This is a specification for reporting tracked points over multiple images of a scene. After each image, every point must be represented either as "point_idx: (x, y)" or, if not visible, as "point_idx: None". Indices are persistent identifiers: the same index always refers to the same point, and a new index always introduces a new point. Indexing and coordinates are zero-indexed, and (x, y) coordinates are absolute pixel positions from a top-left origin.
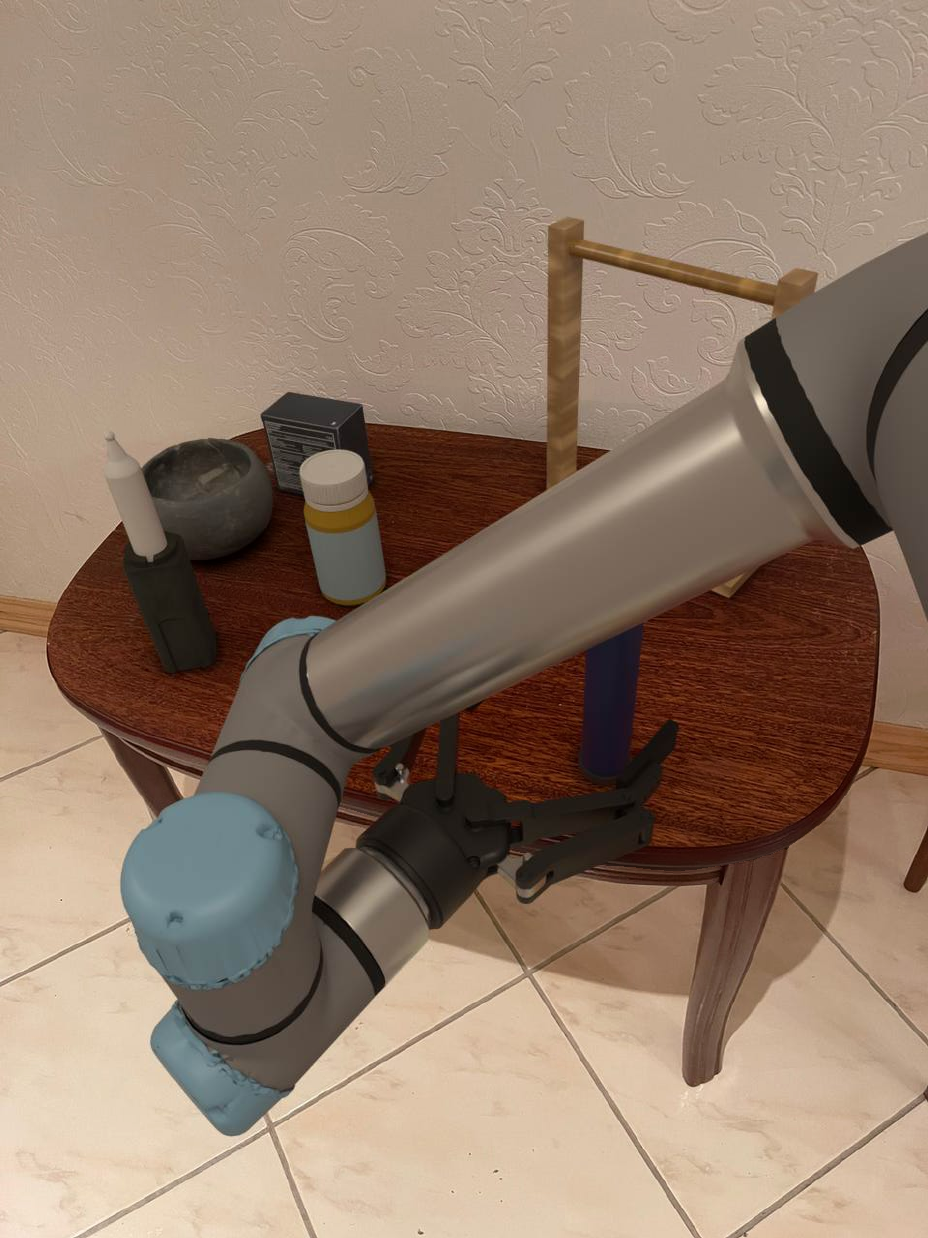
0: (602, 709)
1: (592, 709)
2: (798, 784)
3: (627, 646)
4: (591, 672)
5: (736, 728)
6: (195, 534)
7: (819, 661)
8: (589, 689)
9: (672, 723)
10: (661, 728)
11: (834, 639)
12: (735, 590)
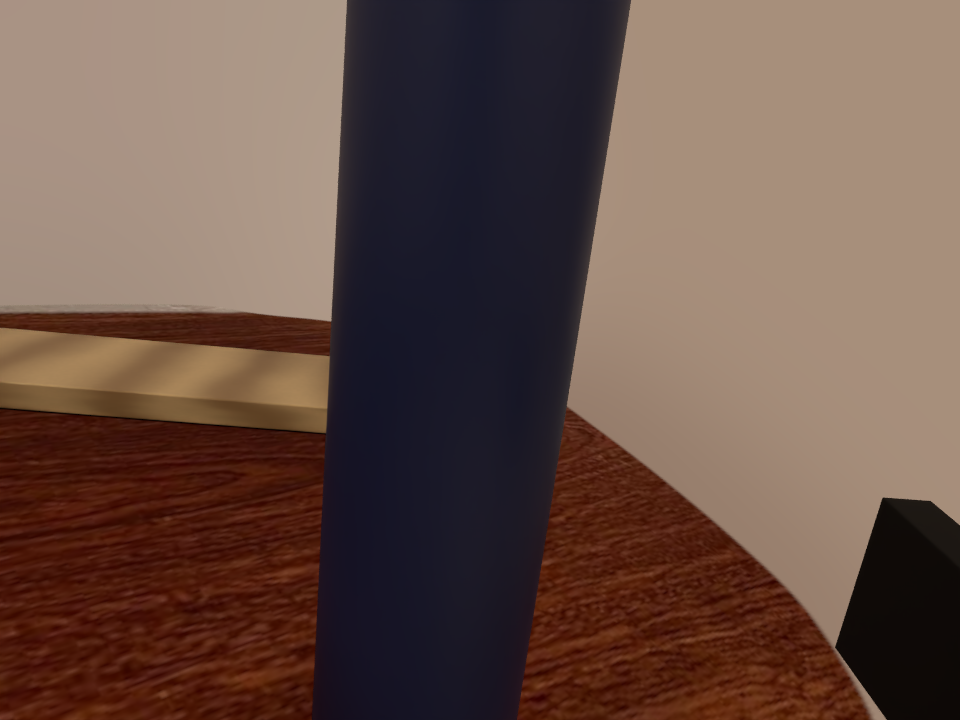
0: (466, 650)
1: (410, 677)
2: (799, 686)
3: (587, 240)
4: (410, 463)
5: (592, 632)
6: None
7: (585, 478)
8: (392, 574)
9: (918, 509)
10: (933, 539)
11: (569, 447)
12: None
